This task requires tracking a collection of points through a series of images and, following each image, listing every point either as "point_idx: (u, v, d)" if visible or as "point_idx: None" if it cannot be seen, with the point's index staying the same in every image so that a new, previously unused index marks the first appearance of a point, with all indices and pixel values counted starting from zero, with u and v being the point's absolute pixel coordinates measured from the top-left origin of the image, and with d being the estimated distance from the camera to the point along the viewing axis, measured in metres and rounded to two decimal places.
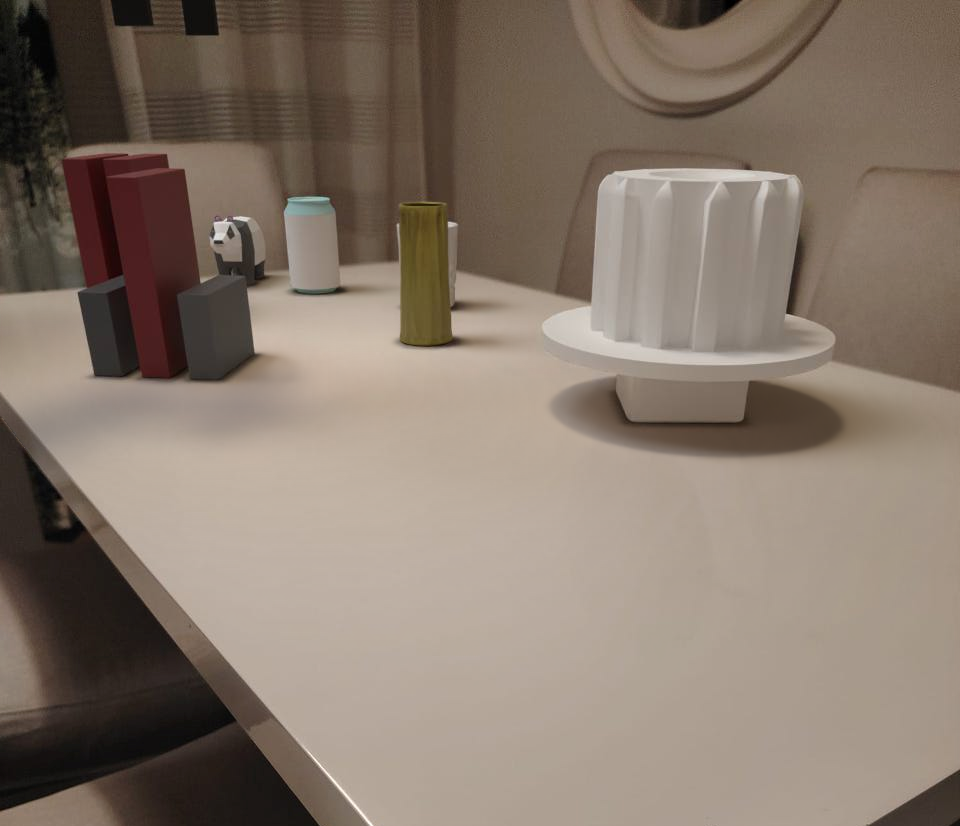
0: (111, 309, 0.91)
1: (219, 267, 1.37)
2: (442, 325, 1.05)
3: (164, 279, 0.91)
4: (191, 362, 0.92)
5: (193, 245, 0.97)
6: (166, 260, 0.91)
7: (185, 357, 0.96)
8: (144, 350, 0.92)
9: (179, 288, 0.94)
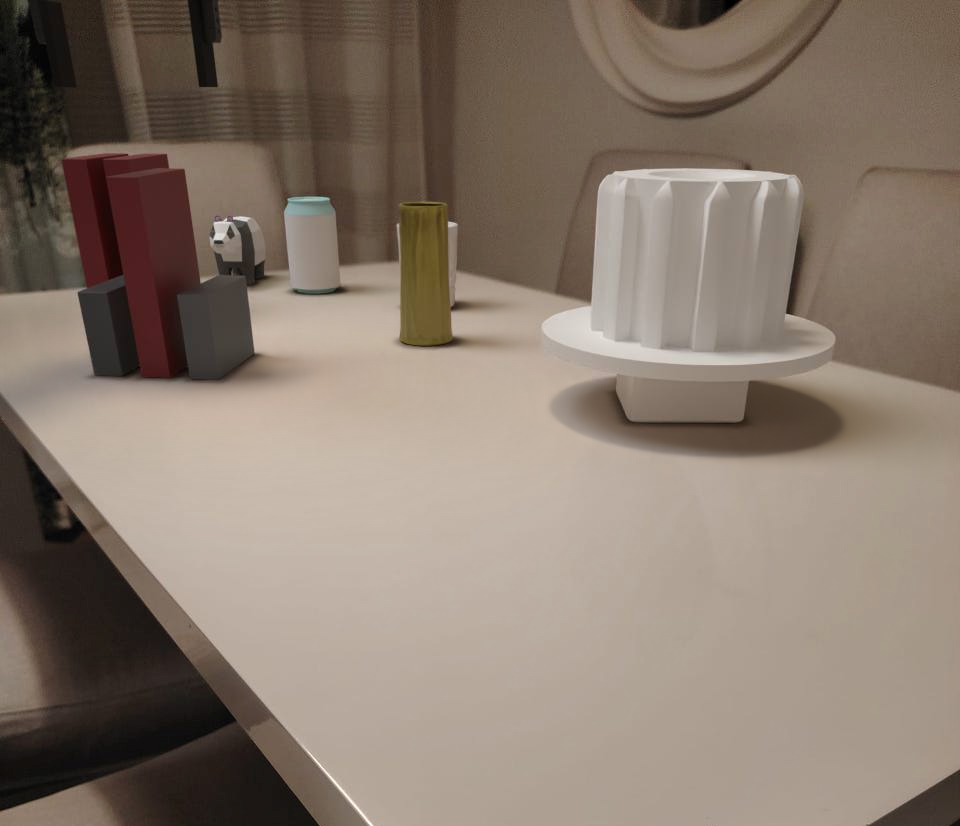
0: (111, 309, 0.91)
1: (219, 267, 1.37)
2: (442, 325, 1.05)
3: (164, 279, 0.91)
4: (191, 362, 0.92)
5: (193, 245, 0.97)
6: (166, 260, 0.91)
7: (185, 357, 0.96)
8: (144, 350, 0.92)
9: (179, 288, 0.94)
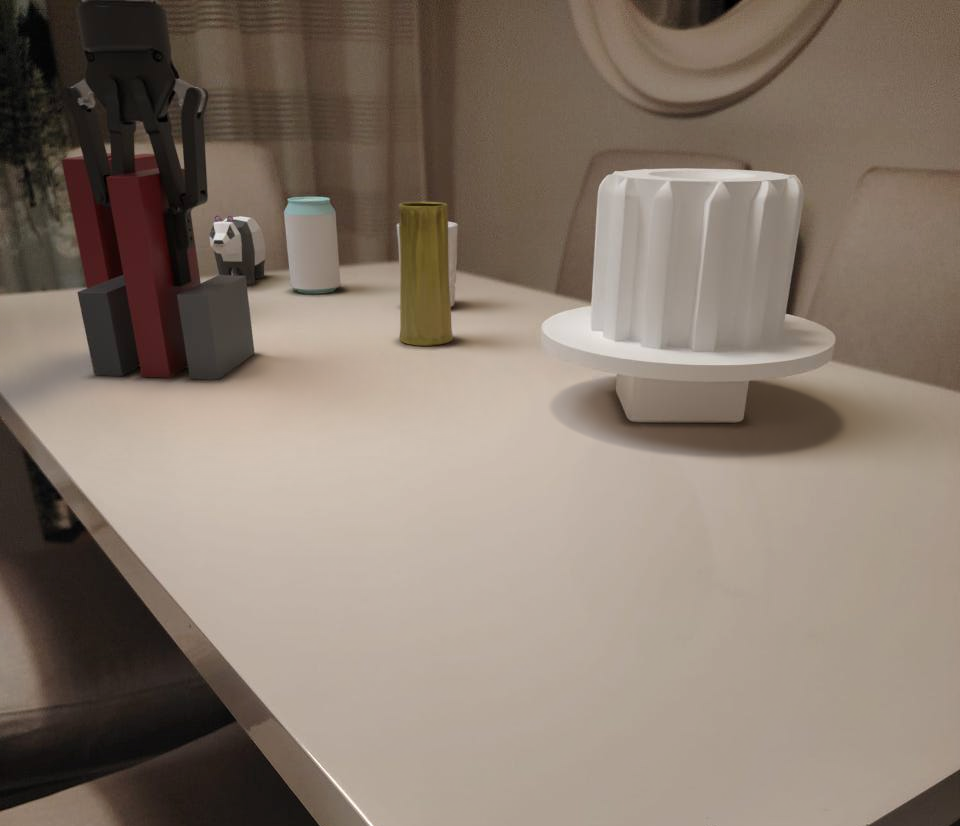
0: (111, 309, 0.91)
1: (219, 267, 1.37)
2: (442, 325, 1.05)
3: (164, 279, 0.91)
4: (191, 362, 0.92)
5: (193, 245, 0.97)
6: (166, 260, 0.91)
7: (185, 357, 0.96)
8: (144, 350, 0.92)
9: (179, 288, 0.94)
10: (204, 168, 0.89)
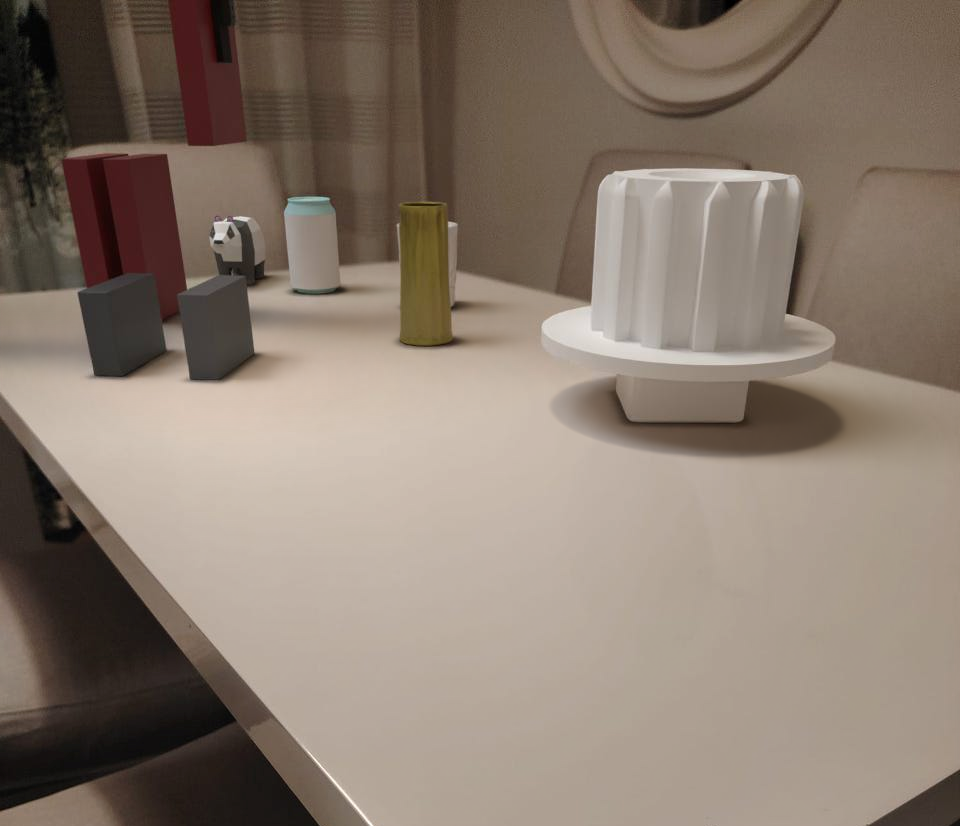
0: (111, 309, 0.91)
1: (219, 267, 1.37)
2: (442, 325, 1.05)
3: (210, 51, 1.01)
4: (191, 362, 0.92)
5: (233, 33, 1.07)
6: (211, 34, 1.01)
7: (226, 133, 1.06)
8: (191, 118, 1.02)
9: (221, 66, 1.04)
10: None
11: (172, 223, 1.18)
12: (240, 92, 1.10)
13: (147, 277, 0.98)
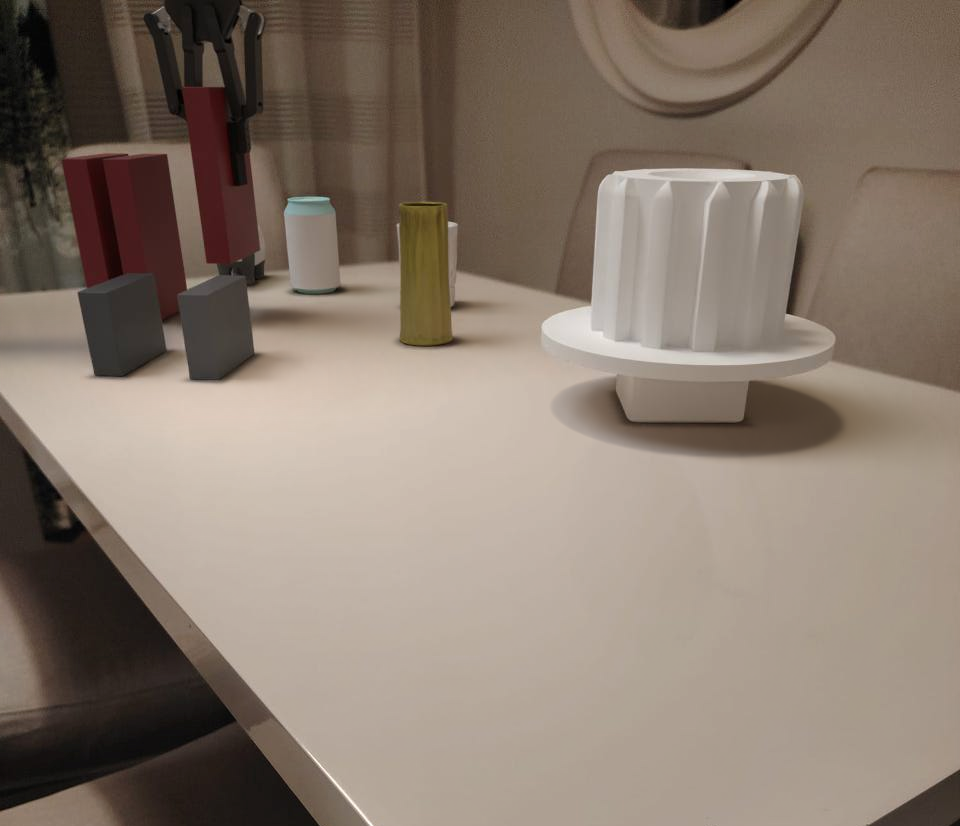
0: (111, 309, 0.91)
1: (219, 267, 1.37)
2: (442, 325, 1.05)
3: (227, 178, 1.08)
4: (191, 362, 0.92)
5: (248, 154, 1.14)
6: (228, 162, 1.08)
7: (241, 249, 1.13)
8: (209, 239, 1.09)
9: (237, 188, 1.11)
10: (261, 83, 1.06)
11: (172, 223, 1.18)
12: (254, 206, 1.17)
13: (147, 277, 0.98)
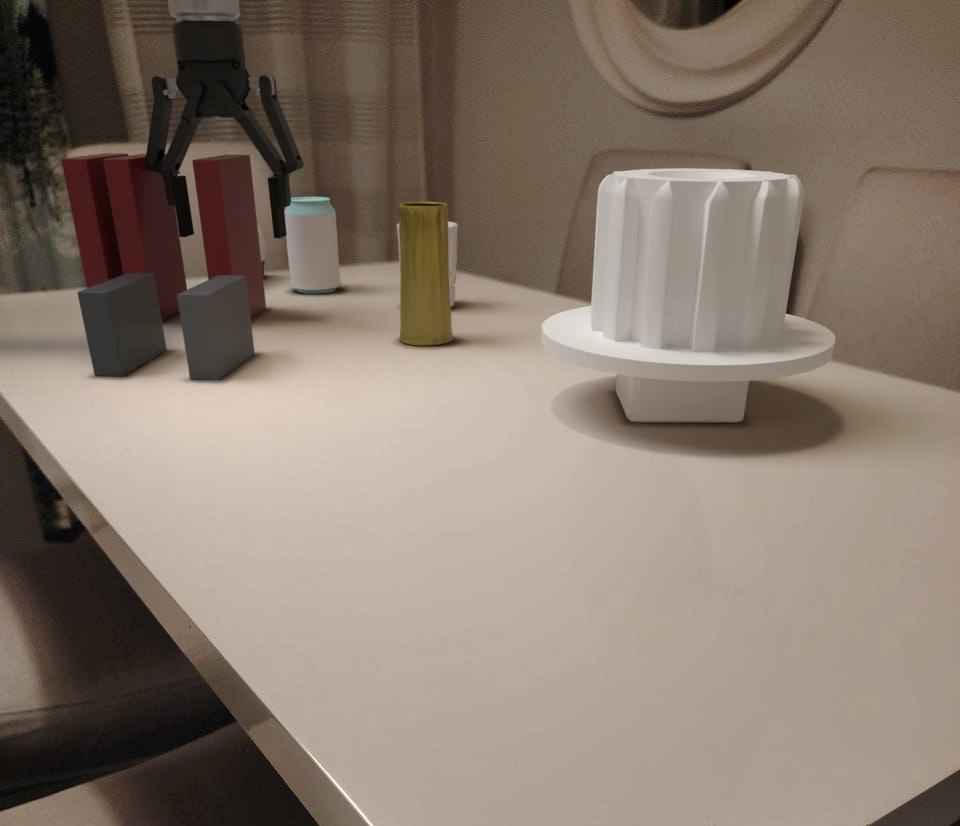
0: (111, 309, 0.91)
1: None
2: (442, 325, 1.05)
3: (235, 244, 1.11)
4: (191, 362, 0.92)
5: (255, 218, 1.17)
6: (236, 229, 1.11)
7: None
8: None
9: (245, 252, 1.15)
10: (292, 138, 1.08)
11: (172, 223, 1.18)
12: (261, 267, 1.20)
13: (147, 277, 0.98)
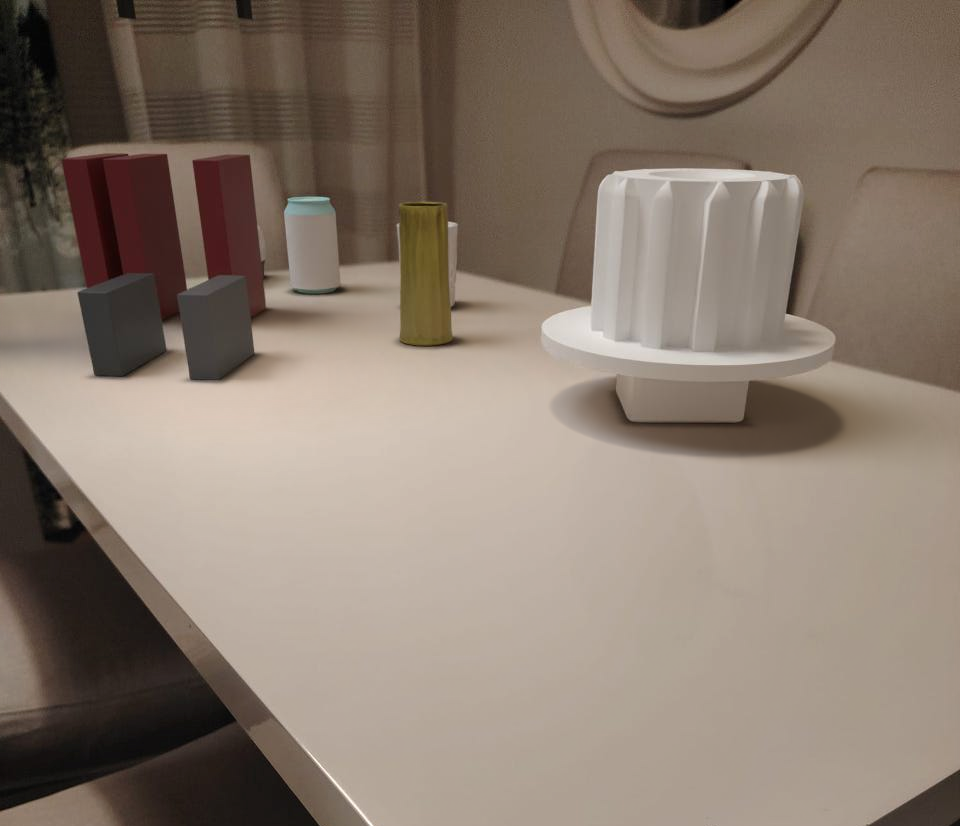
0: (111, 309, 0.91)
1: None
2: (442, 325, 1.05)
3: (235, 244, 1.11)
4: (191, 362, 0.92)
5: (255, 218, 1.17)
6: (236, 229, 1.11)
7: None
8: None
9: (245, 252, 1.15)
10: None
11: (172, 223, 1.18)
12: (261, 267, 1.20)
13: (147, 277, 0.98)
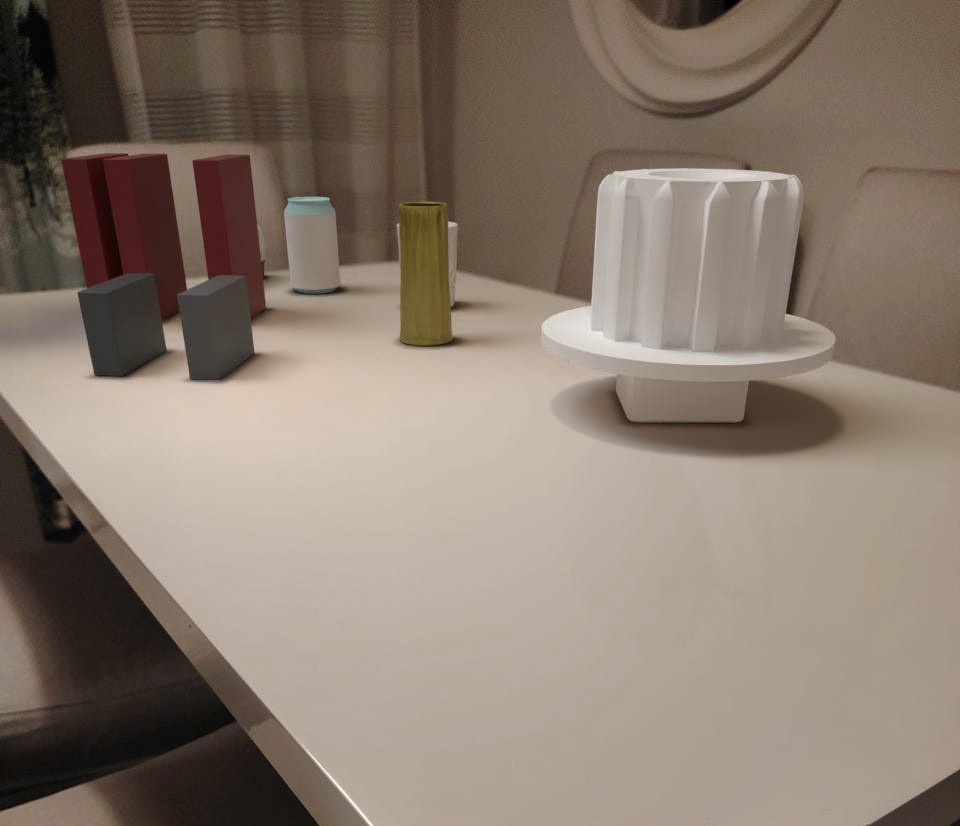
0: (111, 309, 0.91)
1: None
2: (442, 325, 1.05)
3: (235, 244, 1.11)
4: (191, 362, 0.92)
5: (255, 218, 1.17)
6: (236, 229, 1.11)
7: None
8: None
9: (245, 252, 1.15)
10: None
11: (172, 223, 1.18)
12: (261, 267, 1.20)
13: (147, 277, 0.98)
